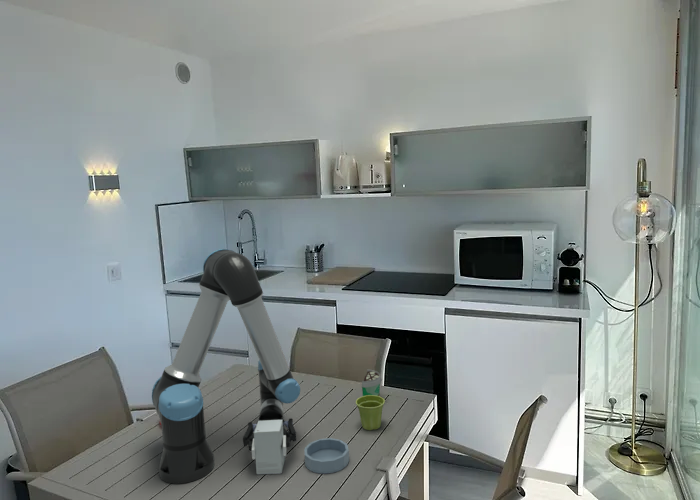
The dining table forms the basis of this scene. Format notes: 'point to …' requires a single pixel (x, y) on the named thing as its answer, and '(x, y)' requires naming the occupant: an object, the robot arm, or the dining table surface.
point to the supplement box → (269, 447)
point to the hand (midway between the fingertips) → (269, 452)
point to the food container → (371, 383)
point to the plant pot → (370, 411)
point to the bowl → (326, 455)
